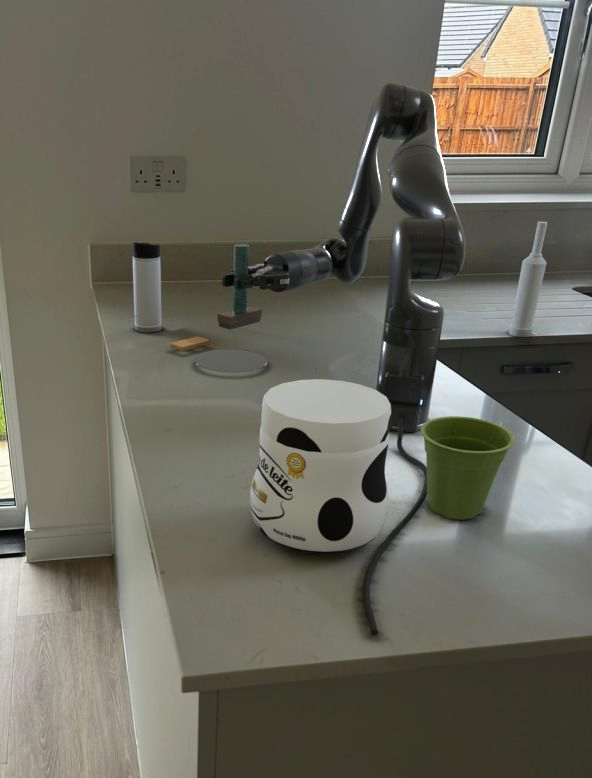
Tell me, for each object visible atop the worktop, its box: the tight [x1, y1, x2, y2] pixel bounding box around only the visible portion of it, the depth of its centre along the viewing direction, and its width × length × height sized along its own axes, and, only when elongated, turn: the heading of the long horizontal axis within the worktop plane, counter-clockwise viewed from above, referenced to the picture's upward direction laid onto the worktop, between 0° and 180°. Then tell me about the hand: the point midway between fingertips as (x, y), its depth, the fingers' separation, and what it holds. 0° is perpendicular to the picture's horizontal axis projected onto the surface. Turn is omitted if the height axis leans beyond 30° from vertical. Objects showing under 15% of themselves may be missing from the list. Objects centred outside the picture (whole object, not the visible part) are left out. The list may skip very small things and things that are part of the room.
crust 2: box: [184, 335, 211, 348], centre depth 171 cm, size 4×4×2 cm
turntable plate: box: [194, 349, 268, 373], centre depth 161 cm, size 15×15×1 cm
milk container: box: [249, 378, 391, 555], centre depth 98 cm, size 17×17×18 cm
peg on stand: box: [217, 243, 263, 330], centre depth 152 cm, size 9×4×15 cm, turn 133°
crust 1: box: [169, 339, 197, 352], centre depth 169 cm, size 4×4×2 cm
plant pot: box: [420, 415, 516, 521], centre depth 105 cm, size 12×12×11 cm
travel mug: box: [132, 241, 163, 334], centre depth 180 cm, size 6×7×20 cm
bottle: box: [508, 221, 548, 338], centre depth 178 cm, size 5×5×25 cm
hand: (230, 282), depth 149 cm, fingers closed on peg on stand, 3 cm apart
